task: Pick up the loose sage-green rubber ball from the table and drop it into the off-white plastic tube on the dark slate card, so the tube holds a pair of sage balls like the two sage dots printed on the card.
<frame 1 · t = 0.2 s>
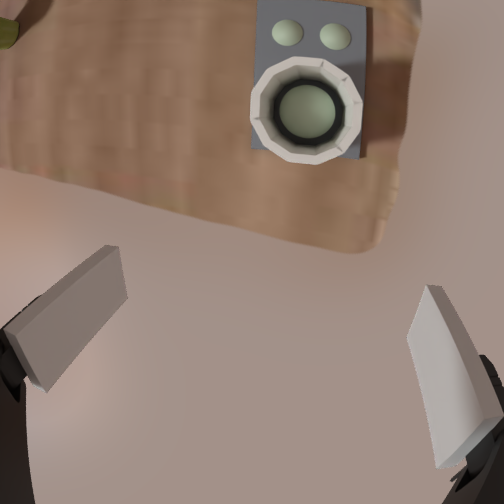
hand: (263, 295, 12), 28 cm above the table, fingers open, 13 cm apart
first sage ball: (307, 111, 30), point 4 cm above the table, touching tube stand
tube stand: (310, 72, 31), on the table
plant pot: (12, 34, 33), on the table
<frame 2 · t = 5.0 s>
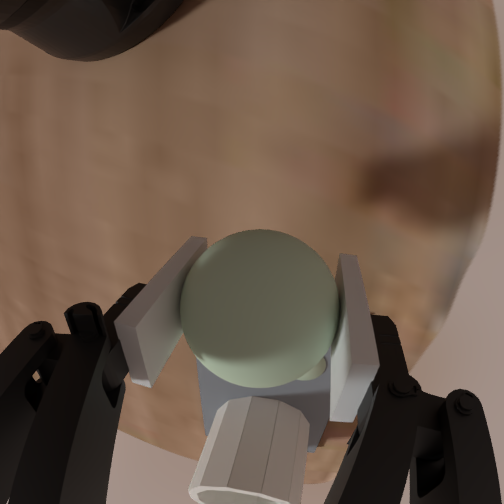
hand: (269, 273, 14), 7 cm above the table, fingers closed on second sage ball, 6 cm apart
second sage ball: (259, 309, 12), point 10 cm above the table, touching gripper
tube stand: (267, 390, 27), on the table
when the fingers open (12 cm above the table, at t = 8.1 s): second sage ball drops 5 cm and tips over, resting on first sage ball.
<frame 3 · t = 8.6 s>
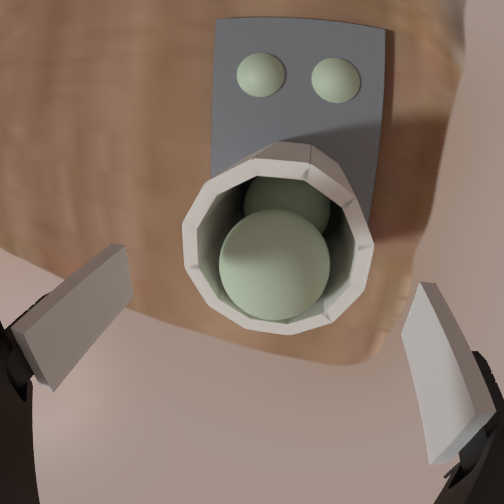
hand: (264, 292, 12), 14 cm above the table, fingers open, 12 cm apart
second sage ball: (274, 264, 17), point 10 cm above the table, tilted 34°, touching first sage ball
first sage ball: (287, 207, 21), point 4 cm above the table, tilted 9°, touching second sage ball, tube stand
tube stand: (295, 139, 23), on the table
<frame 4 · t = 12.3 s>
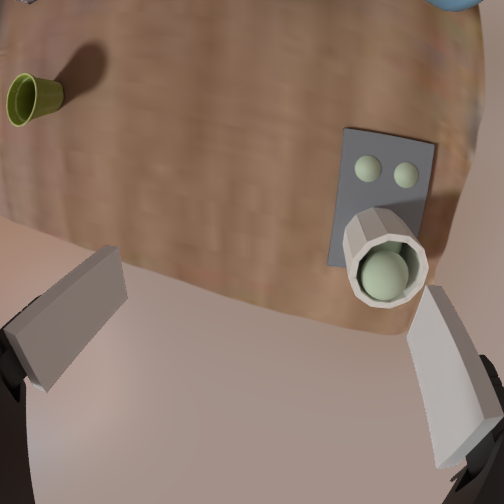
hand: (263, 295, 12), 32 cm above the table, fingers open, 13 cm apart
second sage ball: (384, 275, 34), point 9 cm above the table, tilted 55°, touching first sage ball, tube stand
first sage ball: (380, 241, 39), point 4 cm above the table, tilted 19°, touching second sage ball, tube stand
tube stand: (380, 205, 40), on the table
plant pot: (54, 96, 42), on the table
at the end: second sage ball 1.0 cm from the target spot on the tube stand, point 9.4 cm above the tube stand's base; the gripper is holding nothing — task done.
